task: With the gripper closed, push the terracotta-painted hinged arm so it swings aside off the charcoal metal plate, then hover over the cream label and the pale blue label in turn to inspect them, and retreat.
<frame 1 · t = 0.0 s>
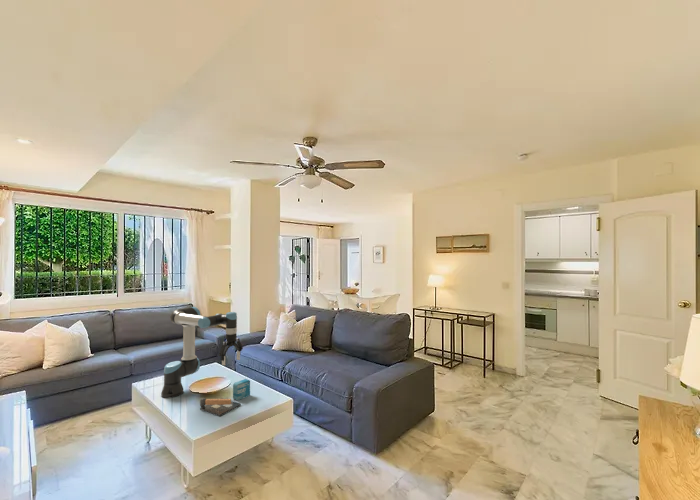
hand: (231, 362, 240), 28 cm above the table, fingers open, 13 cm apart
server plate: (220, 407, 229), on the table
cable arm: (215, 401, 227), point 5 cm above the table, hinge at 0.0°
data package: (241, 397, 245), on the table
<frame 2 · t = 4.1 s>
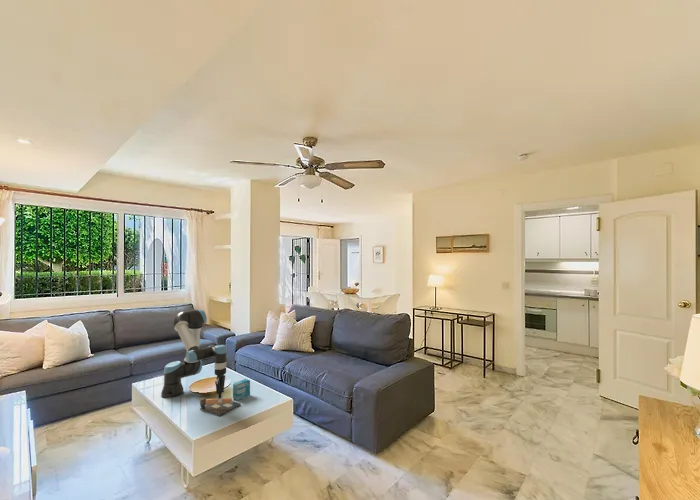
hand: (220, 402, 226), 5 cm above the table, fingers closed
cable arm: (215, 401, 227), point 5 cm above the table, hinge at 5.1°, touching gripper
everything else where it was.
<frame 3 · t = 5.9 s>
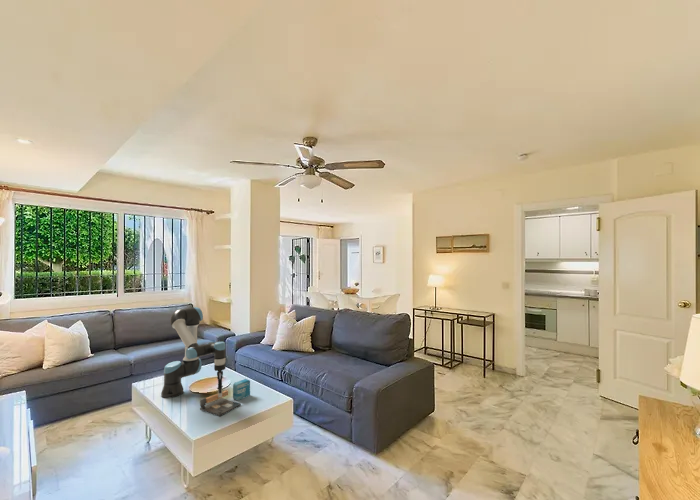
hand: (220, 396, 234), 5 cm above the table, fingers closed
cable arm: (214, 397, 233), point 5 cm above the table, hinge at 53.3°, touching gripper
everything else where it was.
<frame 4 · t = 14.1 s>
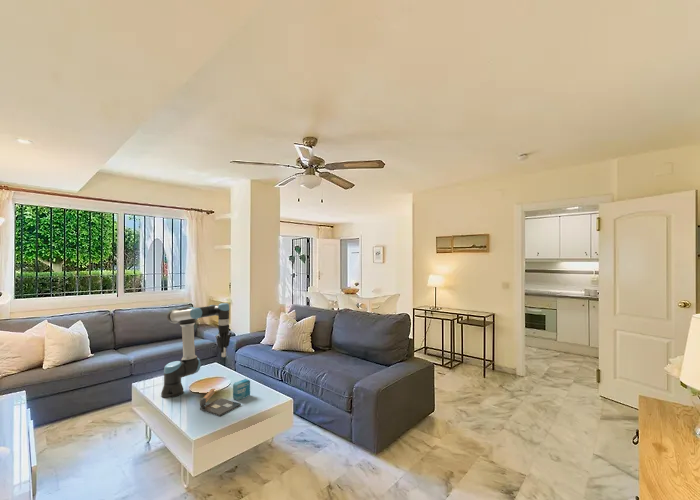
hand: (223, 356, 240), 32 cm above the table, fingers closed
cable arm: (207, 396, 235), point 5 cm above the table, hinge at 91.2°
everything else where it was.
at the end: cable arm at +91° (first picture: +0°); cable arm touching nothing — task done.
